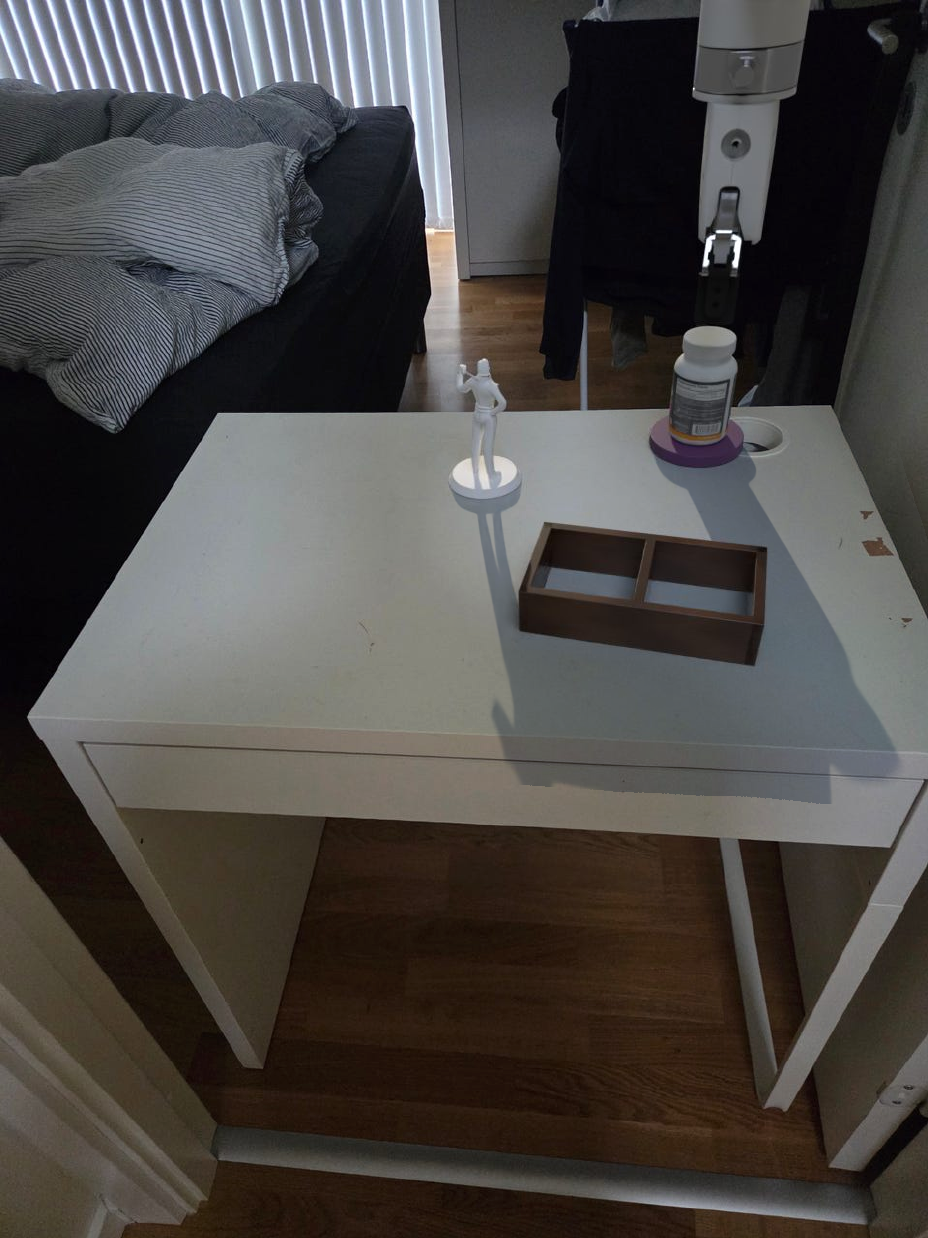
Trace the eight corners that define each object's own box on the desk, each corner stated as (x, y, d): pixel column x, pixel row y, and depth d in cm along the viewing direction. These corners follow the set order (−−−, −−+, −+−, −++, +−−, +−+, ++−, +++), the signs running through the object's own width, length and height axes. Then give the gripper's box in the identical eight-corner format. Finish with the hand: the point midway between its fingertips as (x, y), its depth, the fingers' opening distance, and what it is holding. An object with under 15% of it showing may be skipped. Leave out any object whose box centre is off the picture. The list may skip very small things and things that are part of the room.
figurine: (536, 473, 81) (536, 355, 73) (489, 507, 78) (483, 386, 70) (480, 451, 85) (474, 336, 77) (433, 482, 81) (421, 365, 73)
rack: (758, 587, 67) (767, 546, 64) (754, 666, 60) (764, 624, 58) (544, 560, 71) (544, 521, 69) (519, 631, 65) (518, 591, 62)
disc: (744, 425, 86) (746, 414, 85) (740, 472, 79) (741, 460, 79) (654, 418, 88) (655, 407, 87) (643, 462, 82) (644, 452, 81)
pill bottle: (682, 414, 86) (693, 318, 79) (736, 428, 83) (752, 330, 76) (657, 438, 82) (666, 341, 76) (712, 454, 80) (727, 354, 73)
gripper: (800, 92, 56) (758, 343, 67) (798, 50, 68) (764, 268, 79) (683, 95, 57) (662, 338, 69) (703, 54, 70) (682, 266, 81)
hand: (717, 300), depth 74 cm, fingers open, 9 cm apart
